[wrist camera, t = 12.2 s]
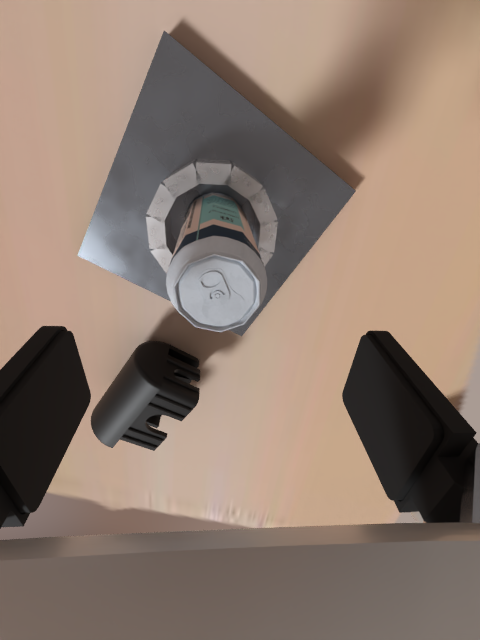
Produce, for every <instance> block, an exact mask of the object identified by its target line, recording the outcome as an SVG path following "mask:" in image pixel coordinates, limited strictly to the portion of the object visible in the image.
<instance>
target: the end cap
mask: <svg viewBox="0 0 480 640" xmlns="http://www.w3.org/2000/svg"><path fill="white" fill-rule="evenodd" d="M198 366H199V360H198V359H197V358H196V357H194V356H192V355H190V354H188V353H186V352H184V351H181V350H179V349H177V348H175V347H173V346H171V345H169V344H166V343H162V342H157V341H149V342H145V343H143V344H141V345H139V346H138V347H137V348H136V349H135V351H134V352H133V354H132V355H131V357H130V358H129V360H128V361H127V362H126V364H125V365H124V367H123V368H122V370H121V371H120V373H119V374H118V375H117V377H116V378H115V380H114V381H113V383H112V384H111V385H110V387H109V388H108V390H107V391H106V393H105V394H104V396H103V397H102V398H101V400H100V401H99V403H98V404H97V406H96V407H95V409H94V410H93V413H92V416H91V426H92V429H93V432H94V434H95V435H96V437H97V438H98V439H99V440H100V441H101V442H102V443H103V444H105V445H106V446H109V447H111V448H113V447H114V446H115V444H116V443H117V442H118V441H119V439H120V440H123V441H126V442H129V443H132V444H135V445H138V446H141V447H144V448H147V449H150V450H153V451H154V450H155V449H156V448H157V447H158V446H159V445H160V444H161V443H162V442H163V441H164V440H165V439H166V438H167V433H164V432H162V431H159V430H156V429H154V428H152V427H150V426H153V427H155V428H158V426H159V422H160V417H161V415H166V416H169V417H172V418H174V419H177V420H180V421H182V420H183V419H184V418H185V417H186V416H187V415H188V414H189V413H190V412H191V411H192V410H193V408H194V407H195V406H196V405H197V403H198V400H199V388H197V387H194V386H192V385H190V384H189V383H190V382H191V381H192V380H195V381H197V382H198V381H199V380H200V370H199V369H197V368H198ZM149 425H150V426H149Z"/></svg>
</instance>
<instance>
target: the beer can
mask: <svg viewBox="0 0 480 640" xmlns="http://www.w3.org/2000/svg"><path fill="white" fill-rule="evenodd" d="M166 287H167V293H168V296H169V298H170V300H171V303H172V304H173V306H174V307H175V308H176V310H177V311H178V312H179V313H180V314H181V315H182V316H183V317H185V318H186V319H187V320H188V321H189V322H190V323H191V324H192V325H193V326H194V327H196V328H201V329H206V330H211V331H216V332H223V331H226V330H229V329H232V328H235V327H238V326H241V325H244V324H245V323H246V321H247V320H248V319H249V318H250V317H251V316H252V315H253V314H254V312H255V311H256V310H257V309H258V308H259V306H260V305H261V304H262V302H263V300H264V297H265V294H266V290H267V276H266V271H265V267H264V264H263V262H262V259H261V256H260V254H259V251H258V248H257V245H256V243H255V240H254V237H253V235H252V232H251V229H250V227H249V224H248V221H247V218H246V216H245V213H244V211H243V209H242V208H241V206H240V205H239V203H238V202H237V201H235V200H234V199H233V198H232V197H230V196H228V195H225V194H222V193H208V194H204V195H202V196H200V197H198V198H197V199H195V200H194V201H193V202H192V204H191V205H190V206H189V208H188V210H187V212H186V215H185V219H184V222H183V225H182V228H181V231H180V234H179V237H178V240H177V244H176V247H175V250H174V253H173V256H172V259H171V262H170V265H169V268H168V271H167V277H166Z"/></svg>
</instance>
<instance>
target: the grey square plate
mask: <svg viewBox="0 0 480 640" xmlns="http://www.w3.org/2000/svg"><path fill="white" fill-rule="evenodd" d="M208 193H222V194H225V195H228V196H230V197H232V198H233V199H234V200H235V201H237V202H238V203H239V205H240V206H241V208H242V209H243V211H244V213H245V216H246V218H247V221H248V224H249V227H250V229H251V232H252V235H253V237H254V240H255V243H256V245H257V248H258V251H259V254H260V256H261V259H262V262H263V264H264V267H265V271H266V276H267V290H266V294H265V297H264V300H263V302H262V304H261V305H260V306H259V308H258V309H257V310H256V311H255V312H254V314H253V315H252V316H251V317H250V318H249V319H248V320H247V321H246V323H245V324H244V325H241V326H238V327H235V328H232V329H229V330H230V331H232V332H234V333H236V334H238V335H240V336H242V335H243V334H244V333H245V331H246V330H247V329H248V328H249V326H250V325H251V324H252V323H253V321H254V320H255V319H256V317H257V316H258V315H259V314H260V312H261V311H262V310H263V309H264V307H265V306H266V305H267V303H268V302H269V301H270V300H271V298H272V297H273V296H274V295H275V293H276V292H277V291H278V289H279V288H280V287H281V286H282V284H283V283H284V282H285V281H286V279H287V278H288V277H289V275H290V274H291V273H292V272H293V270H294V269H295V268H296V267H297V265H298V264H299V263H300V261H301V260H302V259H303V258H304V256H305V255H306V254H307V252H308V251H309V250H310V249H311V247H312V246H313V245H314V244H315V242H316V241H317V240H318V238H319V237H320V236H321V235H322V233H323V232H324V231H325V230H326V228H327V227H328V226H329V224H330V223H331V222H332V221H333V219H334V218H335V217H336V216H337V214H338V213H339V212H340V210H341V209H342V208H343V207H344V205H345V204H346V203H347V202H348V200H349V199H350V198H351V196H352V195H353V194H354V193H355V190H354V189H353V188H352V187H350V186H349V185H348V184H347V183H346V182H345V181H343V180H342V179H341V178H340V177H339V176H337V175H336V174H335V173H334V172H333V171H331V170H330V169H329V168H328V167H327V166H325V165H324V164H323V163H322V162H321V161H319V160H318V159H317V158H316V157H315V156H313V155H312V154H311V153H310V152H309V151H307V150H306V149H305V148H304V147H303V146H302V145H300V144H299V143H298V142H297V141H296V140H294V139H293V138H292V137H291V136H290V135H288V134H287V133H286V132H285V131H284V130H282V129H281V128H280V127H279V126H278V125H276V124H275V123H274V122H273V121H272V120H270V119H269V118H268V117H267V116H266V115H264V114H263V113H262V112H261V111H260V110H259V109H257V108H256V107H255V106H254V105H253V104H251V103H250V102H249V101H248V100H247V99H245V98H244V97H243V96H242V95H241V94H239V93H238V92H237V91H236V90H235V89H233V88H232V87H231V86H230V85H229V84H227V83H226V82H225V81H224V80H223V79H221V78H220V77H219V76H218V75H217V74H216V73H214V72H213V71H212V70H211V69H210V68H208V67H207V66H206V65H205V64H204V63H202V62H201V61H200V60H199V59H198V58H196V57H195V56H194V55H193V54H192V53H190V52H189V51H188V50H187V49H186V48H184V47H183V46H182V45H181V44H180V43H178V42H177V41H176V40H175V39H174V38H173V37H171V36H170V35H169V34H168V33H167V32H165V31H164V32H163V35H162V37H161V40H160V42H159V45H158V48H157V50H156V53H155V55H154V58H153V61H152V63H151V66H150V68H149V71H148V74H147V76H146V79H145V81H144V84H143V87H142V89H141V92H140V94H139V97H138V100H137V102H136V105H135V107H134V110H133V113H132V115H131V118H130V120H129V123H128V126H127V128H126V131H125V133H124V136H123V139H122V141H121V144H120V146H119V149H118V152H117V154H116V157H115V159H114V162H113V165H112V167H111V170H110V172H109V175H108V178H107V180H106V183H105V185H104V188H103V191H102V193H101V196H100V198H99V201H98V204H97V206H96V209H95V212H94V214H93V217H92V219H91V222H90V225H89V227H88V230H87V232H86V235H85V238H84V240H83V243H82V245H81V248H80V251H79V253H78V256H79V257H81V258H83V259H85V260H88V261H90V262H92V263H94V264H96V265H98V266H100V267H102V268H104V269H106V270H108V271H110V272H112V273H114V274H116V275H118V276H120V277H122V278H124V279H126V280H128V281H130V282H132V283H134V284H136V285H138V286H141V287H143V288H145V289H147V290H149V291H151V292H153V293H155V294H157V295H159V296H161V297H163V298H165V299H167V300H169V301H171V300H170V298H169V296H168V293H167V287H166V277H167V271H168V268H169V265H170V262H171V259H172V256H173V253H174V250H175V247H176V244H177V240H178V237H179V234H180V231H181V228H182V225H183V222H184V219H185V215H186V212H187V210H188V208H189V206H190V205H191V204H192V202H193V201H194V200H195V199H197V198H198V197H200V196H202V195H204V194H208Z"/></svg>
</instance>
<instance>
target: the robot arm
mask: <svg viewBox="0 0 480 640" xmlns="http://www.w3.org/2000/svg"><path fill="white" fill-rule="evenodd" d="M342 397H343V402H344V405H345V407H346V409H347V411H348V413H349V415H350V418H351V420H352V422H353V424H354V426H355V428H356V430H357V432H358V435H359V437H360V439H361V441H362V443H363V445H364V447H365V450H366V452H367V454H368V456H369V458H370V460H371V462H372V465H373V467H374V469H375V471H376V473H377V475H378V477H379V480H380V482H381V484H382V486H383V488H384V490H385V492H386V494H387V496H388V497H389V499H391V500H394V502H395V504H396V506H397V508H398V510H399V512H411V514H412V516H413V518H414V520H415V522H416V523H393V524H364V525H335V526H306V527H279V528H253V529H228V530H203V531H179V532H156V533H155V532H154V533H132V534H110V535H88V536H67V537H45V538H29V539H14V540H13V539H12V540H0V640H480V443H479V444H478V443H477V441H476V440H475V439H474V438H473V437H474V436H475V434H476V432H475V431H474V429H473V428H472V427H471V426H470V425H469V424H468V423H467V421H466V420H465V419H464V418H463V417H462V416H461V414H460V413H459V412H458V411H457V410H456V409H455V408H454V406H453V405H452V404H451V403H450V402H449V401H448V400H447V398H446V397H445V396H444V395H443V394H442V393H441V391H440V390H439V389H438V388H437V387H436V386H435V385H434V383H433V382H432V381H431V380H430V379H429V378H428V377H427V375H426V374H425V373H424V372H423V371H422V370H421V368H420V367H419V366H418V365H417V364H416V363H415V362H414V360H413V359H412V358H411V357H410V356H409V355H408V354H407V352H406V351H405V350H404V349H403V348H402V347H401V345H400V344H399V343H398V342H397V341H396V340H395V339H394V337H393V336H392V335H391V334H390V333H389V332H388V331H368V332H367V333H366V335H363V336H362V337H361V339H360V342H359V345H358V348H357V351H356V354H355V357H354V360H353V363H352V366H351V369H350V372H349V375H348V378H347V381H346V384H345V387H344V390H343V395H342ZM90 399H91V394H90V390H89V386H88V383H87V380H86V376H85V373H84V369H83V366H82V363H81V359H80V356H79V352H78V349H77V346H76V342H75V339H74V336H73V333H72V332H71V331H67V329H66V328H65V327H63V326H42V327H41V328H40V329H39V330H38V331H37V332H36V333H35V334H34V335H33V336H32V337H31V338H30V339H29V340H28V341H27V342H26V343H25V344H24V345H23V346H22V348H21V349H20V350H19V351H18V352H17V353H16V354H15V355H14V356H13V357H12V358H11V359H10V360H9V361H8V362H7V363H6V364H5V366H4V367H3V368H2V369H1V370H0V528H1V527H18V526H24V524H25V522H26V520H27V518H28V516H29V514H30V513H31V512H34V511H36V510H37V508H38V507H39V505H40V503H41V501H42V499H43V497H44V495H45V493H46V491H47V489H48V487H49V485H50V483H51V481H52V479H53V477H54V475H55V473H56V471H57V469H58V467H59V465H60V463H61V461H62V459H63V457H64V455H65V452H66V450H67V448H68V446H69V444H70V442H71V440H72V438H73V436H74V434H75V432H76V430H77V428H78V426H79V424H80V422H81V420H82V418H83V416H84V414H85V412H86V410H87V408H88V406H89V403H90Z"/></svg>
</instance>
